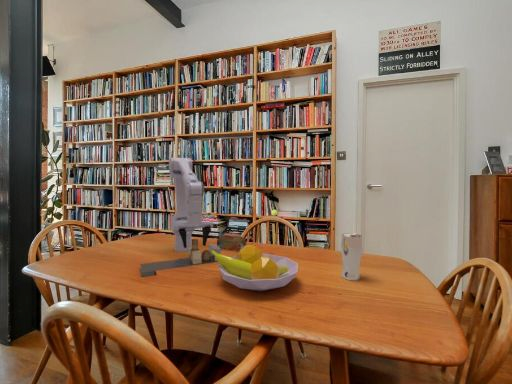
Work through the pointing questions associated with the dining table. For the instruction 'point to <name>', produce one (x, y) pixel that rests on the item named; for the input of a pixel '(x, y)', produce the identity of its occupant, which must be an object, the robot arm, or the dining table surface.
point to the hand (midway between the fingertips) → (194, 246)
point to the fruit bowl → (256, 269)
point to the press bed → (175, 263)
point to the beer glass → (351, 255)
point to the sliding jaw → (195, 252)
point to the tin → (231, 242)
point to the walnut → (206, 255)
